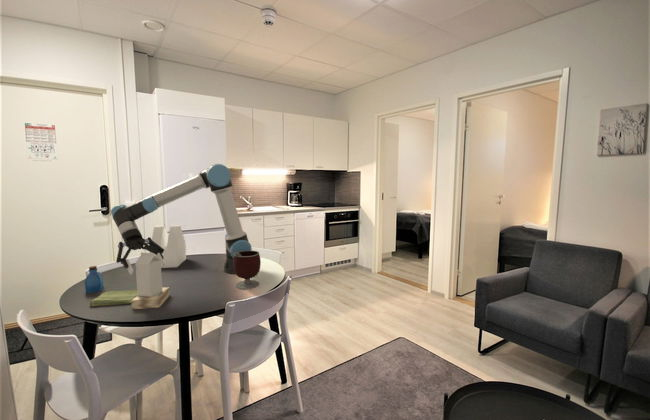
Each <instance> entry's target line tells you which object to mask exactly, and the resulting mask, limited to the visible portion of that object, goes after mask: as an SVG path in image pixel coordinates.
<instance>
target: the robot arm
mask: <svg viewBox="0 0 650 420" xmlns="http://www.w3.org/2000/svg"><path fill="white" fill-rule="evenodd" d="M231 177H232V174H231V170H230V169H229V168H228V167H227V166H226V165H225V164H221V163H215V164H212V165H210V166H209V167H207V168H206V169H204V170H203V171H200V172H198V173H197V175H196V176H193V177H191V178H189V179H187V180H184V181H181V182H179V183H177V184H174V185H172V186H171V187H167V188H165V189H163V190H160V191H158V192H156V193H153V194H151V195H149V196H147V197H143V198H141V199H140V200H138V201H137V202H134V203H132V204H131V205H128V206H127V205H126V204H120V205H119V204H118V205H115V206H113V207H112V209H111V210H110V214H111V217H112V220H113V221H114V223H115V225H116V226H117V229H118V232H119V234H120V235H121V238H122V240H123V241H119V242H118V245H117V247H118V250H117V251H118V252H117V256H116V261H115V262H116V264H118V263H120V264H121V265H123V267H124V269H127V271H128V274H129V275H130V276H131V275H133V274H134V268H133V266H132V264H131V261H130V260H129V258H128V256H129V255H130V254H131V252H132V251H136V250H141V249H142V250H145V251H147V252H148V253H150V252H152V253H154V254H156V257H157V258H159V259H160V260H161V267H163V266H164V265H165V263H164V261H163V259H164V257H163V255H162V253H163V252H164V249H163V248H162V247H160V246H159V245H158V244H156V243H155V242H154V241H152V238H151V237H149V236H148V237H147V238H146V239H145V238H144V237H143V235H142V233H141V231H140V229H139V227H138V225H137V224H136V220H139V219H141V218H143V217H146V216H147V215H149V214H152V213H154V212H155V211H157V210H158V209H159V208H161V207H163V206H165V205H168V204H169V203H170V204H171V203H172V202H175V201H177V200H179V199H182V198H184V197H186V196H188V195H191V194H193V193H195V192H197V191H200V190H202V189H208V188H210V192H211V193H213V194H214V196H215V199H216V202H217V206H218V208H219V212H220V215H221V218H222V219H221V220H222V222H223V225H224V228H225V229H224V230H225V231H226V233H225V238H224V240H225V259H224V260H225V261H224V265H223V272H224V273H227V274H235V272H234V267H233V259H234V254H235V253H233V252H231V251H235V252H240V251H253V250H252V245H251V243H250V241H249V238H248V235H247V232H245V231H244V230H243V228H242V224H241V221H240V217H239V214H238V210H237V209H238V208H237V206H236V203H235V200H234V196H233V191H232V189H233V183H232V182H233V181H232V179H231ZM125 247H127V250H126V252H125V254H124V255H123V257H122V254H123V250H124V248H125Z"/></svg>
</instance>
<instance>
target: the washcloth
mask: <svg viewBox="0 0 650 420" xmlns="http://www.w3.org/2000/svg"><path fill="white" fill-rule="evenodd" d="M137 295H138V294H137V289H131V290H130V289H128V290H118V291H117V290H113V291H112V290H111V291H105V292H103V293H101V294H100V295H99V296H98V297H95V298H94V299H92V300H91V301H89V306H90V307H107V306H116V305H117V306H119V305H129V304H131V305H132V302H131V300H132V299H134V298H135V297H136V296H137Z"/></svg>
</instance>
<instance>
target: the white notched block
mask: <svg viewBox="0 0 650 420" xmlns="http://www.w3.org/2000/svg"><path fill="white" fill-rule="evenodd" d="M151 237H152V238H151V239H152V241H154V242H155V243H156V244H158V245H159V246H160V247H162V248H163V249H164V252H163V253H162V255H163V257H164V259H163V261H164V263H165V265H164V266H163V267H161V269H165V268H167V269H169V268H178V267H179V266H180V265H181V264H182V263H183V262H185V261H186V259H187V249H186V248H187V247H186V240H185V237H184V233H183V230H182V226H181V225H170V226H169V232H167V229H166V226H165V225H154V227H153V232H152V236H151ZM149 253H152V252H149ZM155 256H156V254H155Z"/></svg>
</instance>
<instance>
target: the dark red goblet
mask: <svg viewBox="0 0 650 420" xmlns="http://www.w3.org/2000/svg"><path fill="white" fill-rule="evenodd" d="M231 252H233V253H235V254H234V259H233V267H234V272H235V273H234V274H235V276H237V278H240V279H244V280H241V281H238V282H236V283H235V288H236V289H238V290H252V289H255V288H257V287H259V286H260V281H258V280H255V279H252V278H254V277H256V276H257V275H258V274H259V273H260V269H261V263H262V262H261V255H260V252H259V251H257V250H251V251H240V252H235V251H231Z"/></svg>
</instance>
